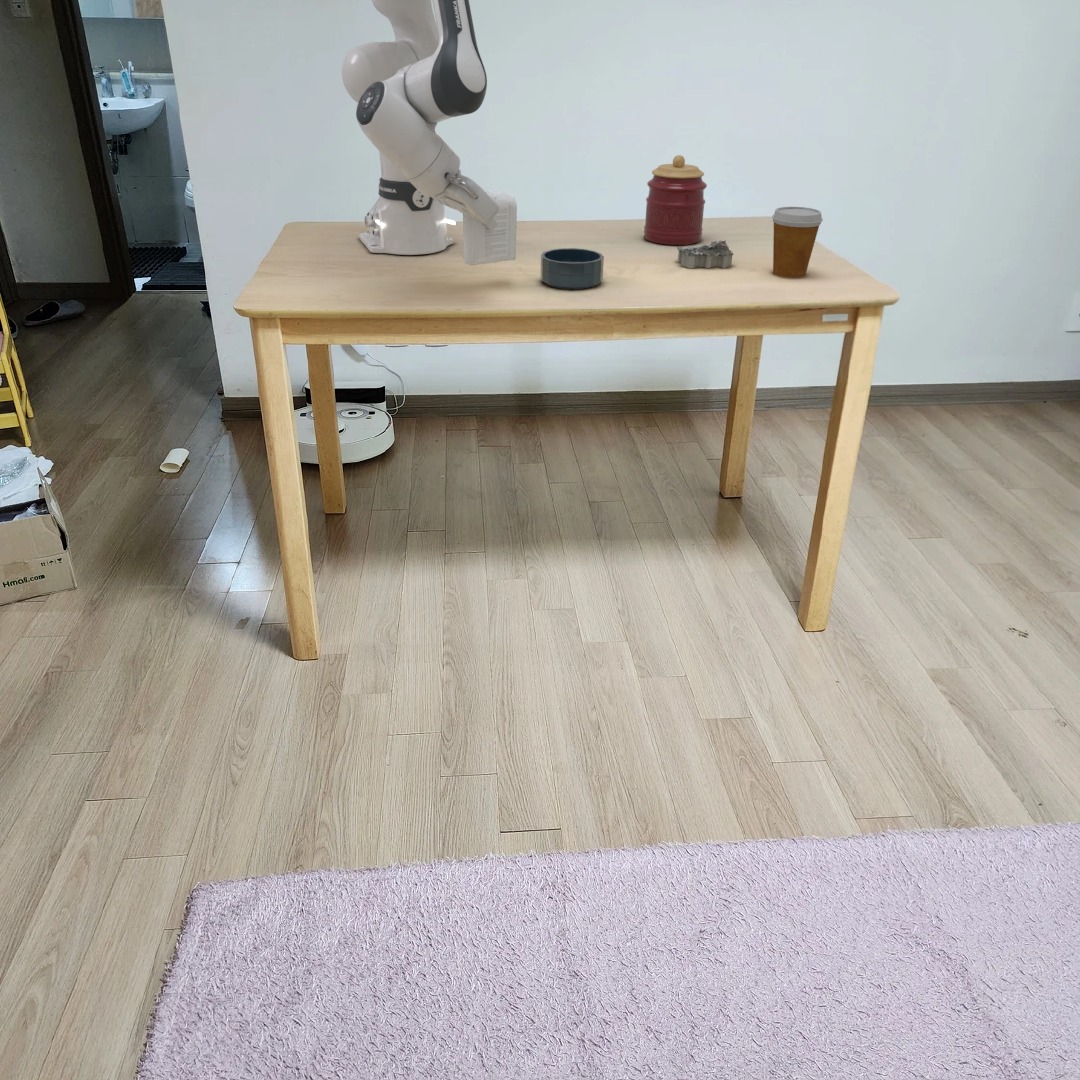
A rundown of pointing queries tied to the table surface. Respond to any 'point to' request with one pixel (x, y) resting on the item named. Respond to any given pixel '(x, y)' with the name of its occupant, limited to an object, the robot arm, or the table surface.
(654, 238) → the kitchen canister
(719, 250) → the grey packaging insert
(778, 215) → the disposable coffee cup
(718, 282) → the table surface
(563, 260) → the bowl
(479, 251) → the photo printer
